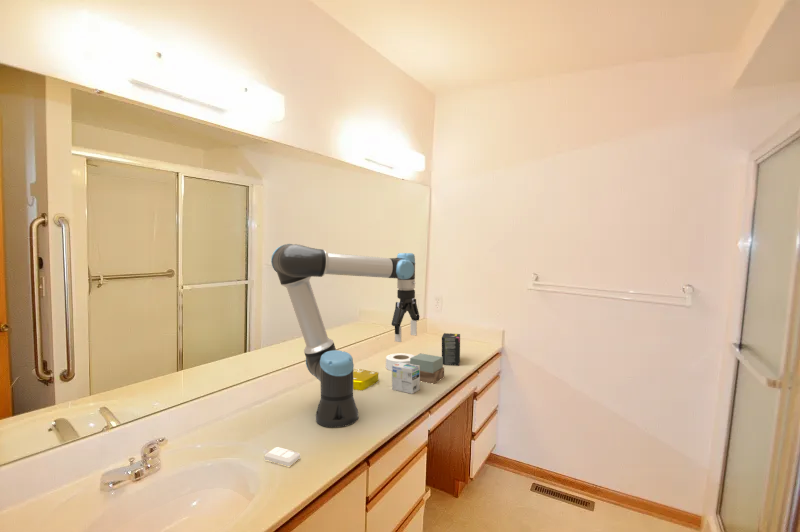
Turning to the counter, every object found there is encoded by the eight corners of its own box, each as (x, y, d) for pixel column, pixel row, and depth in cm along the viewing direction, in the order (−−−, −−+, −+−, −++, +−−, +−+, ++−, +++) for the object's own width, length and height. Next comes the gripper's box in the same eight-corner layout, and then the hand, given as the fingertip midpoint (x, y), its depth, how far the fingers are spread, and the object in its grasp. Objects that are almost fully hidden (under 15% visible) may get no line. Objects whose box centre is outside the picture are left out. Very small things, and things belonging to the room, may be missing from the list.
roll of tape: (394, 361, 217) (394, 351, 217) (421, 365, 211) (421, 354, 210) (380, 369, 203) (380, 358, 203) (408, 374, 196) (408, 362, 196)
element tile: (333, 386, 180) (333, 375, 180) (353, 376, 194) (353, 366, 193) (362, 392, 173) (362, 381, 173) (380, 381, 187) (380, 371, 186)
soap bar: (275, 453, 122) (275, 445, 122) (300, 460, 119) (300, 451, 119) (264, 461, 118) (264, 453, 118) (289, 468, 114) (289, 459, 114)
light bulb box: (420, 389, 175) (420, 365, 175) (412, 394, 170) (412, 369, 169) (399, 385, 181) (399, 361, 180) (391, 389, 175) (391, 365, 175)
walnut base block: (434, 384, 182) (434, 373, 182) (408, 379, 189) (408, 369, 188) (444, 377, 192) (444, 367, 191) (419, 373, 198) (419, 363, 198)
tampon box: (459, 366, 209) (459, 338, 208) (441, 365, 211) (441, 337, 210) (460, 360, 220) (460, 333, 219) (443, 359, 222) (443, 332, 221)
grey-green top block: (433, 373, 183) (433, 362, 183) (410, 368, 189) (410, 358, 189) (442, 367, 191) (442, 357, 191) (420, 363, 198) (420, 353, 197)
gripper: (398, 292, 160) (399, 345, 161) (427, 286, 182) (426, 333, 183) (383, 291, 164) (383, 343, 165) (412, 286, 186) (412, 331, 187)
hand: (406, 338), depth 174 cm, fingers open, 13 cm apart
